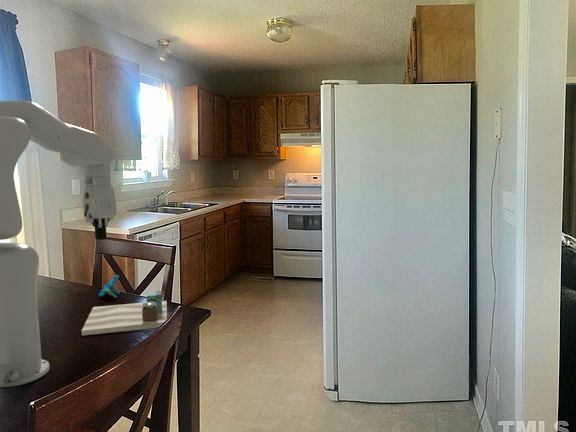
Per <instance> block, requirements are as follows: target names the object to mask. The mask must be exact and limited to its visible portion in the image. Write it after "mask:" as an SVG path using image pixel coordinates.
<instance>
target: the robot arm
mask: <svg viewBox="0 0 576 432" xmlns="http://www.w3.org/2000/svg"><path fill="white" fill-rule="evenodd" d="M30 141H32V142H33V143H35V144H37V145H38V146H40V147H42V148H44V149H46V150H47V151H50V152H54V153H58V154H59V153H60V154H61V157H62V159H63V161H64V163H66V164H67V165H69V166H72V167H76V168H80V167H84V180H83V182H84V184H85V187H84V190H83V198H82V199H83V200H82V202H83V203H82V210H83V216H84V218H85V222H86V223H87V224H88V223H89V224H91V225H92V228H94V238H95V240H97V241H98V240H99V241H101V240H103V241H104V240H107V227H108V225H109V222H111V221H112V220H114V217H115V216H116V215H117V212H118V211H117V201H116V195H115V190H114V186H112V181H111V178H112V177H111V164H112V163H113V160H114V157H115V153H114V149H113V147H112V145H111V143H109V141H108V140H107V139H105V138H104V137H103V136H101V135H100V134H98V133H96V132H94V131H90V130H89V129H85V128H82V127H78V126H75V125H72V124H68V123H66V122H64V121H63V120H61V119H59V118H58V117H56V116H55V115H53V114H52V113H51V112H49V111H48V110H46V109H45V108H44V107H42V106H41V105H39V104H38V103H35V102H33V101H29V100H0V241H1V240H3V241H5V240H9V239H14V238H15V237H17V236H19V234H20V233H21V232H22V229H23V217H22V212H21V211H22V210H21V207H20V203H19V198H18V194H17V189H16V182H15V179H14V178H15V176H14V175H15V168H16V166H17V164H18V161H19V159H20V157H21V156H22V155H23V153H24V152H25V150H26V148H27V147H28V145H29V143H30ZM39 258H40V257H39V254H38V252H37V251H36V250H35V248H33V247H32V246H30V245H27V244H26V243H25V244H24V243H21V242H20V243H19V242H0V388H11V387H17V386H22V385H25V384H28V383H31V382H34V381H36V380H39V379H40V378H42V377H43V376H45V375H46V374H47V373H48V372H49V370H50V362H49V361H48V360H46V359H43V358H42V349H41V337H40V336H41V335H40V321H39V309H38V298H37V297H38V295H37V294H38V293H37V288H38V287H37V286H38V285H37V282H38V274H39V267H40V259H39Z"/></svg>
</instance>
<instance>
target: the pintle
mask: <svg viewBox="0 0 576 432" xmlns="http://www.w3.org/2000/svg"><path fill="white" fill-rule="evenodd" d="M142 303H143V307H146V309H147V308H153V307H154V306H156V302H154V301H150V302H146V301H144V302H142Z"/></svg>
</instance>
